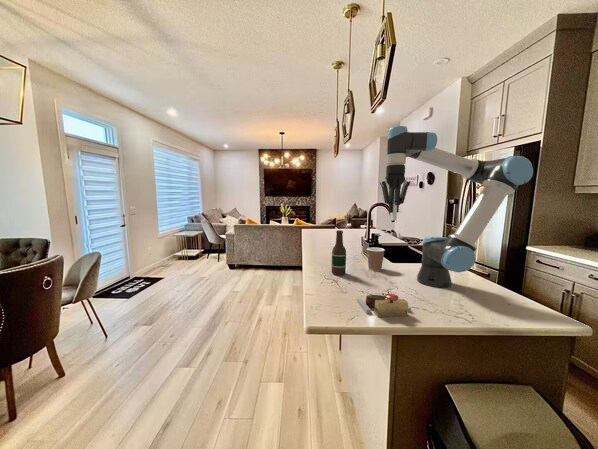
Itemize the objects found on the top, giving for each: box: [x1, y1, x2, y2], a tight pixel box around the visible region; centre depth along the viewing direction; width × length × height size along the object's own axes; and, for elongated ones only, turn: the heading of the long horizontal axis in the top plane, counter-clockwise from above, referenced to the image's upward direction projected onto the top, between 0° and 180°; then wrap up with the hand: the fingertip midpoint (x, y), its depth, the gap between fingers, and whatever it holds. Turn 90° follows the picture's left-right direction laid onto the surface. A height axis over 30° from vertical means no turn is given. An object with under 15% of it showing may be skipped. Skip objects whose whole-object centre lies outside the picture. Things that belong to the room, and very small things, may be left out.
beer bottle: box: [331, 229, 347, 276], centre depth 137 cm, size 8×8×24 cm
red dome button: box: [374, 293, 409, 318], centre depth 89 cm, size 11×4×7 cm, turn 96°
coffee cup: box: [366, 247, 386, 272], centre depth 147 cm, size 10×10×12 cm
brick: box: [365, 294, 388, 310], centre depth 95 cm, size 11×4×5 cm, turn 69°
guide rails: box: [356, 297, 412, 315], centre depth 96 cm, size 17×10×2 cm, turn 96°
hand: (393, 220), depth 109 cm, fingers closed
